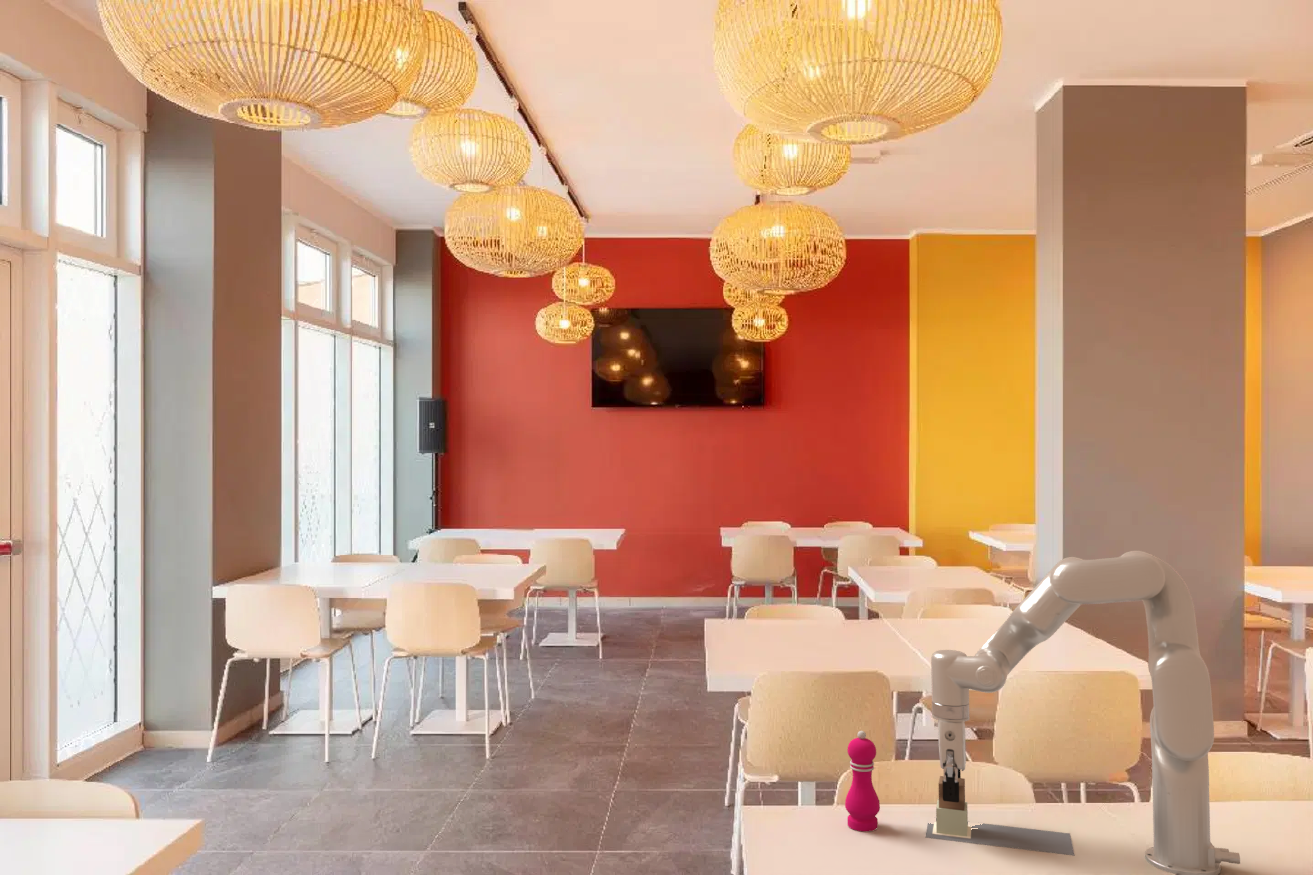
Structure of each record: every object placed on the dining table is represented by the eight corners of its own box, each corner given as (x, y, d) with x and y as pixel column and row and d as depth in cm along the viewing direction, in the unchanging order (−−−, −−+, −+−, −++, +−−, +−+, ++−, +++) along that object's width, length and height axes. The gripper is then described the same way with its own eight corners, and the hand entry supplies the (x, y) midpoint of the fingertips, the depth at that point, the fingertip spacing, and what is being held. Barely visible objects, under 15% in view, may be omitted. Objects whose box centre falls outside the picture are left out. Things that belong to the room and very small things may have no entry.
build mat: (1069, 835, 195) (1069, 832, 195) (1074, 857, 183) (1074, 854, 183) (928, 818, 204) (928, 816, 204) (925, 839, 193) (925, 836, 193)
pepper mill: (880, 833, 195) (879, 736, 196) (845, 831, 197) (844, 734, 198) (879, 821, 203) (878, 727, 203) (845, 818, 204) (844, 725, 205)
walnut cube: (965, 802, 198) (964, 778, 198) (964, 810, 193) (963, 785, 194) (940, 799, 200) (940, 775, 200) (938, 807, 195) (938, 783, 195)
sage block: (967, 825, 198) (967, 801, 199) (967, 836, 193) (966, 811, 193) (937, 822, 200) (937, 798, 201) (936, 832, 195) (936, 808, 195)
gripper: (968, 722, 188) (970, 809, 187) (970, 702, 204) (971, 782, 204) (929, 719, 191) (930, 805, 190) (934, 700, 207) (935, 779, 206)
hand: (951, 793), depth 197 cm, fingers open, 9 cm apart
